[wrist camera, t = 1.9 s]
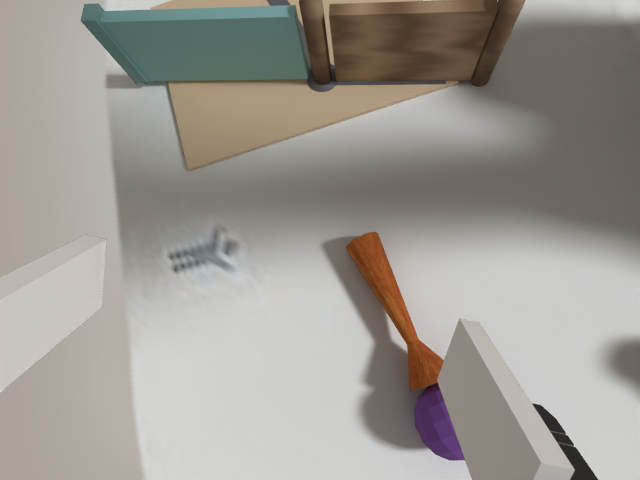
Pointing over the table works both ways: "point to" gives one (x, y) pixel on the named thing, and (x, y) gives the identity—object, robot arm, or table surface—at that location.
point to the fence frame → (409, 39)
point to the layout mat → (273, 99)
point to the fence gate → (202, 42)
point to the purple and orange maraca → (409, 349)
